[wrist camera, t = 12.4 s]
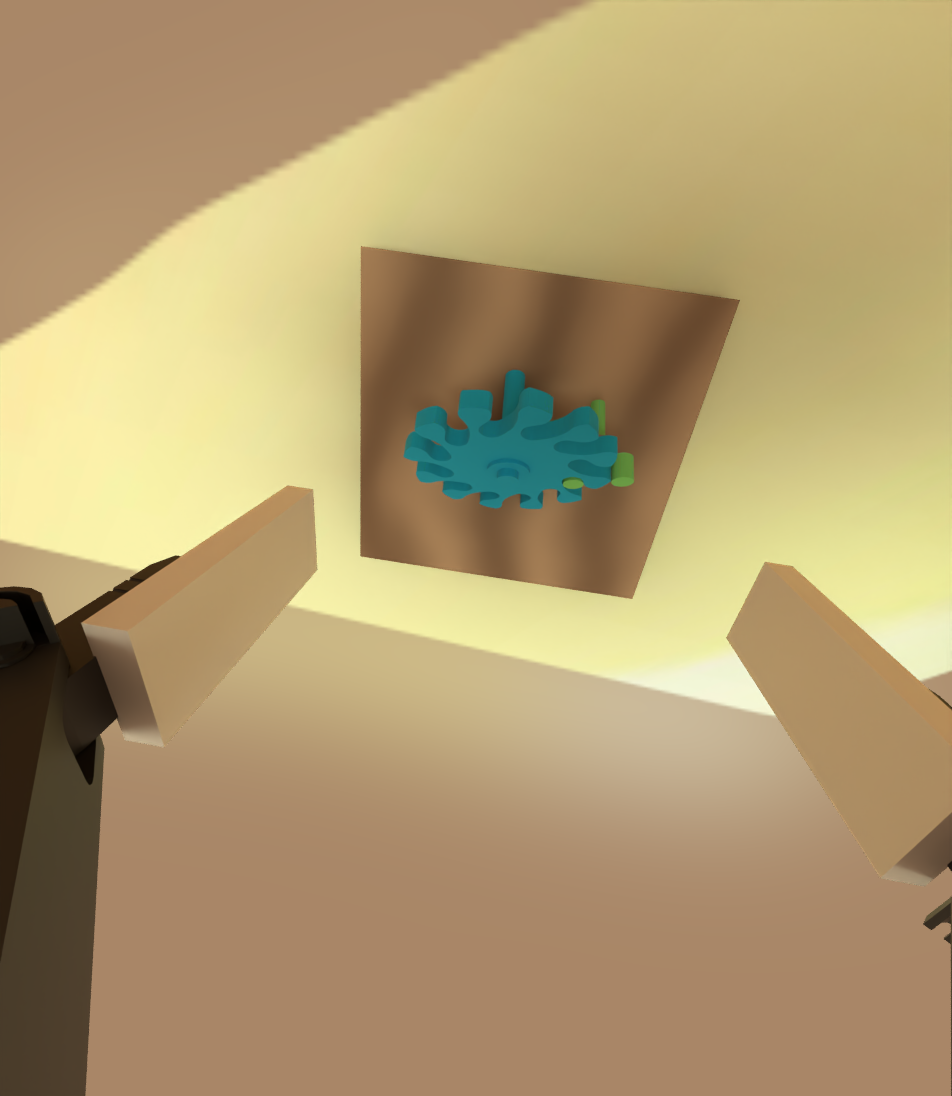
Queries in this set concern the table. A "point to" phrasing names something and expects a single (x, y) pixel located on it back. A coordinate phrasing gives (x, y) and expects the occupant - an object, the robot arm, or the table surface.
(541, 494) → the gear
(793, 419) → the table surface
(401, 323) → the mount plate
